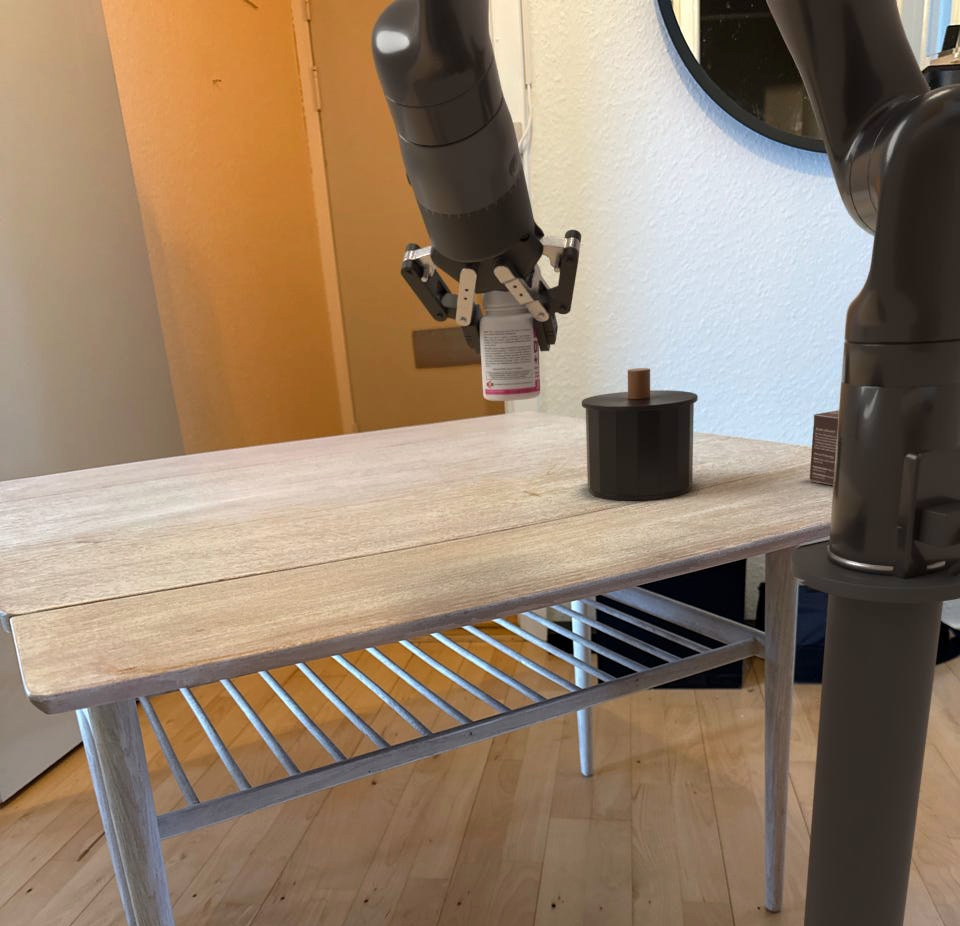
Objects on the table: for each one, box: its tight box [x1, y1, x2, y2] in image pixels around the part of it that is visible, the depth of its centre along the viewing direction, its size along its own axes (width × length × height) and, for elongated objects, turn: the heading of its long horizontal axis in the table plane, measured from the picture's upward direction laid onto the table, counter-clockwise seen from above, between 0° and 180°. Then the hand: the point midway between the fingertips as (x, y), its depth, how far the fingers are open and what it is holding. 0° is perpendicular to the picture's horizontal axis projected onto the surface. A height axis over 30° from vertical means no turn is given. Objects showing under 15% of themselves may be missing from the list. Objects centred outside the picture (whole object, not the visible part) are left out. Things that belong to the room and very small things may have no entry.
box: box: [809, 409, 839, 486], centre depth 98 cm, size 6×6×7 cm
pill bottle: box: [479, 291, 541, 402], centre depth 74 cm, size 5×5×8 cm
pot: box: [585, 403, 695, 502], centre depth 101 cm, size 11×11×10 cm
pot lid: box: [581, 367, 699, 411], centre depth 99 cm, size 12×12×4 cm
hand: (514, 344), depth 76 cm, fingers closed on pill bottle, 4 cm apart
